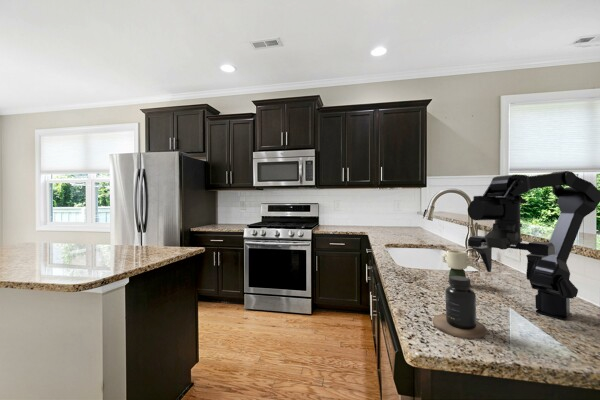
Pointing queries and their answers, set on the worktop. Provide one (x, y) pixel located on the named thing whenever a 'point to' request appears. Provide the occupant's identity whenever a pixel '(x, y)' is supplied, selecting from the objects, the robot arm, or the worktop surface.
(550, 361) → the worktop surface
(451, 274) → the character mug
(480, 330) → the walnut trivet
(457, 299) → the supplement bottle
